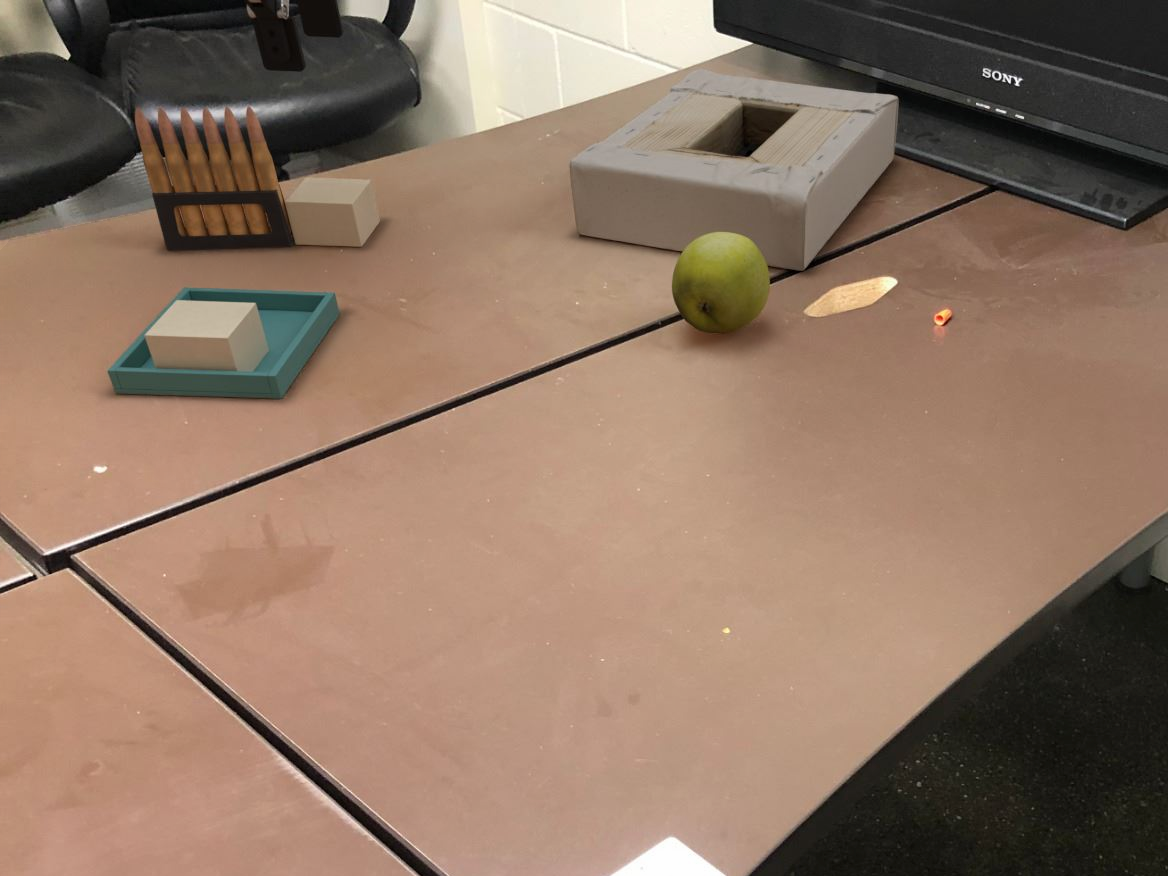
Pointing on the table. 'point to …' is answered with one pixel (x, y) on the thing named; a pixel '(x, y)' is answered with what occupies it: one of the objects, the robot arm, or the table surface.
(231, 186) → the ammunition clip
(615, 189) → the hollow concrete block
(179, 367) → the pad
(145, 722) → the table surface
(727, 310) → the apple
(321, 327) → the tray
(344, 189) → the beige rectangular block
